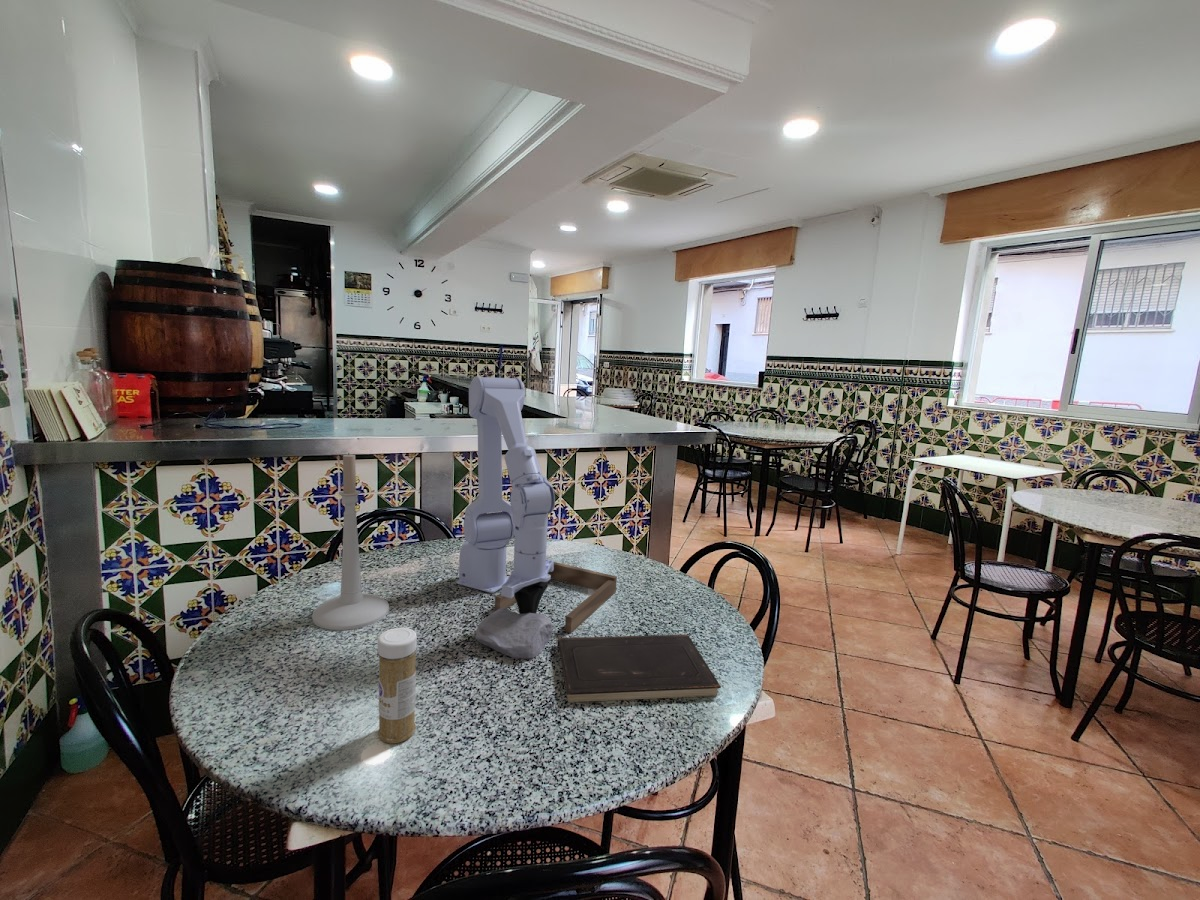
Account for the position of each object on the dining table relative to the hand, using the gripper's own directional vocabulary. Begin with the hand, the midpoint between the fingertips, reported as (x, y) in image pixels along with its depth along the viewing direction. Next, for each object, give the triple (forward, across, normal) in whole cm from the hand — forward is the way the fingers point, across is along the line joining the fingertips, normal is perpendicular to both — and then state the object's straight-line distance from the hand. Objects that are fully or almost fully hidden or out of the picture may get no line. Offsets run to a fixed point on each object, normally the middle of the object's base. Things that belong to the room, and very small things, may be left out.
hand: (527, 620), depth 99 cm
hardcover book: (+2, -4, -22) cm, 22 cm away
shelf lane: (+1, +12, 0) cm, 12 cm away
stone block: (+2, -6, -1) cm, 7 cm away
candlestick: (+1, -12, +30) cm, 33 cm away
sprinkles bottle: (+1, -32, -1) cm, 33 cm away
